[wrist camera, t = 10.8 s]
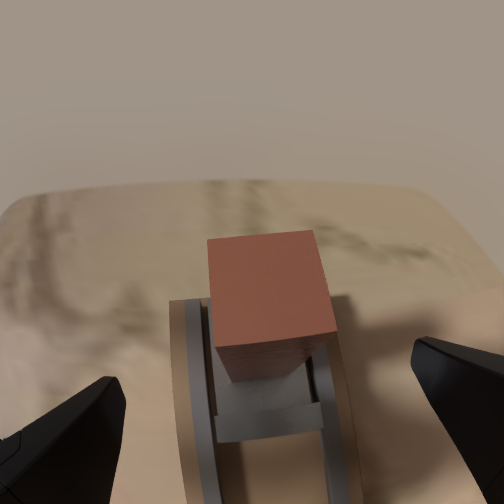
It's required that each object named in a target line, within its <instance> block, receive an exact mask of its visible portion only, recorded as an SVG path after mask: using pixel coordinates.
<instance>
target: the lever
mask: <svg viewBox="0 0 504 504" xmlns="http://www.w3.org/2000/svg"><path fill="white" fill-rule="evenodd" d="M207 246H208V264H209V280H210V295H211V298H208V299H207V303H208V317H209V330H210V342H211V354H212V365H213V375H214V385H215V394H216V403H217V412H218V416H214V417H215V426H216V434H217V442H218V443H225V442H237V441H247V440H256V439H264V438H272V437H278V436H285V435H291V434H296V433H302V432H307V431H312V430H317V429H321V428H324V426H323V419H322V413H321V407H320V402H316V403H312V402H311V396H310V390H309V384H308V378H307V372H306V366H305V361H306V360H307V359H308V358H309V357H311V356H312V355H313V354H314V353H315V352H316V351H317V350H318V349H319V348H320V347H321V346H322V345H323V344H325V343H326V342H327V341H328V340H329V339H330V338H331V337H332V336H333V335H334V334H335V333H336V332H337V331H338V329H337V325H336V320H335V316H334V312H333V307H332V303H331V299H330V295H329V291H328V287H327V283H326V279H325V275H324V271H323V267H322V263H321V259H320V256H319V252H318V248H317V244H316V241H315V237H314V234H313V230H307V231H296V232H284V233H272V234H261V235H250V236H239V237H229V238H218V239H208V240H207Z"/></svg>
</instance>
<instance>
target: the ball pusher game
mask: <svg viewBox="0 0 504 504" xmlns="http://www.w3.org/2000/svg"><path fill="white" fill-rule="evenodd" d="M210 298H211V297H210ZM207 299H208V298H199V299H187V300H175V301H169V318H170V348H171V368H172V383H173V397H174V408H175V419H176V429H177V438H178V446H179V454H180V461H181V469H182V475H183V482H184V488H185V494H186V500H187V504H364V500H363V491H362V482H361V473H360V465H359V458H358V451H357V444H356V437H355V430H354V424H353V418H352V412H351V406H350V400H349V395H348V389H347V384H346V378H345V373H344V368H343V363H342V358H341V353H340V348H339V344H338V339H337V334H336V333H335V334H334V335H333V336H332V337H331V338H330V339H329V340H328V341H327V342H326V343H325V344H323V345H322V346H321V347H320V348H319V349H318V350H317V351H316V352H315V353H314V354H313V355H312V356H311V357H309V358H308V359H307V360H306V361H305V366H306V372H307V378H308V384H309V390H310V396H311V402H312V403H316V402H320V407H321V413H322V419H323V426H324V428H321V429H317V430H312V431H307V432H302V433H296V434H291V435H285V436H278V437H272V438H264V439H256V440H247V441H237V442H225V443H218V442H217V434H216V426H215V417H214V416H218V412H217V403H216V394H215V385H214V375H213V365H212V354H211V342H210V330H209V317H208V303H207Z"/></svg>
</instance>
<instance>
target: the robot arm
mask: <svg viewBox="0 0 504 504" xmlns="http://www.w3.org/2000/svg"><path fill="white" fill-rule="evenodd" d="M411 367H412V370H413V372H414V373H415V375H416V377H417V379H418V381H419V383H420V385H421V387H422V389H423V391H424V393H425V395H426V397H427V399H428V401H429V403H430V405H431V406H432V408H433V409H434V411H435V413H436V414H437V416H438V417H439V419H440V421H441V422H442V424H443V425H444V427H445V429H446V430H447V432H448V434H449V435H450V437H451V439H452V440H453V442H454V444H455V445H456V447H457V449H458V450H459V452H460V454H461V456H462V457H463V459H464V461H465V463H466V464H467V466H468V468H469V470H470V472H471V473H472V475H473V477H474V479H475V481H476V483H477V484H478V486H479V488H480V490H481V492H482V494H483V496H484V498H485V500H486V502H487V504H504V356H502V355H498V354H494V353H490V352H486V351H482V350H478V349H474V348H470V347H466V346H462V345H458V344H454V343H451V342H447V341H443V340H439V339H436V338H432V337H428V336H425V337H422V338H419V339H417V340H416V341H415V343H414V347H413V352H412V356H411ZM125 410H126V399H125V396H124V393H123V391H122V388H121V385H120V383H119V380H118V379H117V378H116V377H112V376H104V377H102V378H100V379H99V380H97V381H96V382H94V383H92V384H91V385H89V386H88V387H86V388H85V389H83V390H82V391H80V392H79V393H77V394H76V395H74V396H73V397H71V398H70V399H68V400H66V401H65V402H63V403H62V404H60V405H59V406H57V407H56V408H54V409H52V410H51V411H49V412H48V413H46V414H45V415H43V416H42V417H40V418H38V419H37V420H35V421H34V422H32V423H31V424H29V425H27V426H26V427H24V428H23V429H22V431H21V430H19V431H18V432H16V433H15V434H13V435H11V436H10V437H8V438H6V439H5V440H3V441H1V442H0V504H109V503H110V497H111V492H112V487H113V482H114V477H115V472H116V468H117V463H118V459H119V454H120V449H121V443H122V435H123V426H124V418H125Z"/></svg>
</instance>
